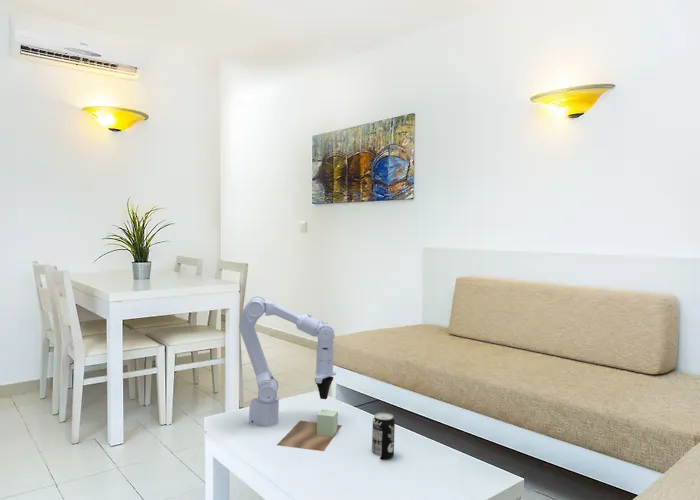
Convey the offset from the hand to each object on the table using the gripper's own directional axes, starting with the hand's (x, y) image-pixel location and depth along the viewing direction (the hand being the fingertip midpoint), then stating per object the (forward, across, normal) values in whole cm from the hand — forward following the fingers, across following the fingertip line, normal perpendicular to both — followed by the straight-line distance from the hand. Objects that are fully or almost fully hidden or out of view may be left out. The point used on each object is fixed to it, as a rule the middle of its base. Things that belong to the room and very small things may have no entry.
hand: (323, 398), depth 178 cm
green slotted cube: (+8, -9, -4) cm, 13 cm away
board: (+9, -12, 0) cm, 15 cm away
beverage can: (+10, -18, -24) cm, 31 cm away
